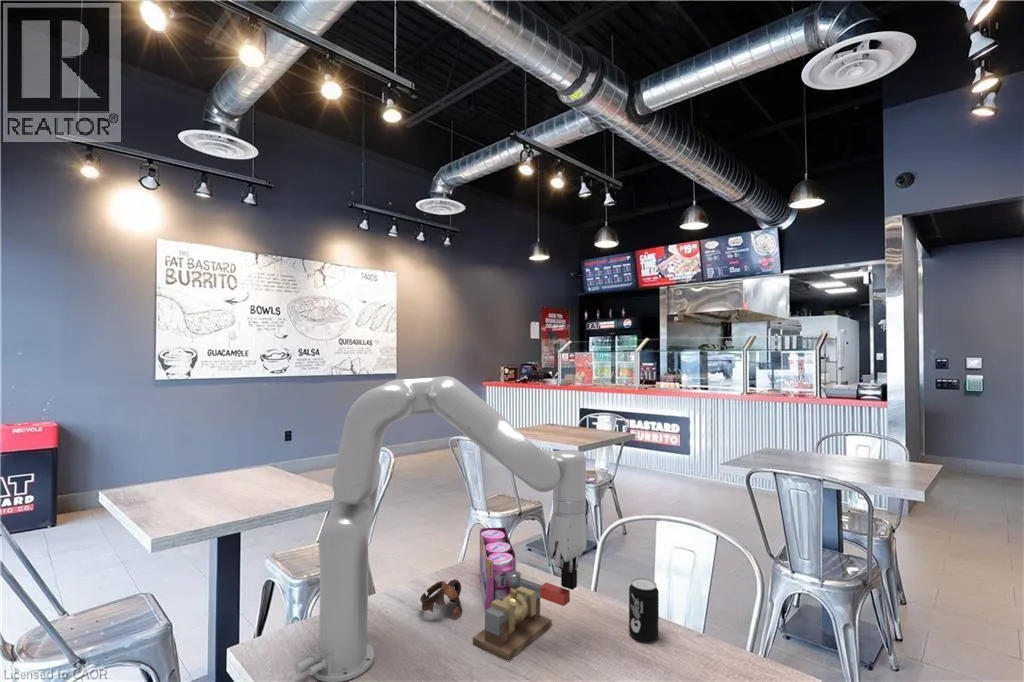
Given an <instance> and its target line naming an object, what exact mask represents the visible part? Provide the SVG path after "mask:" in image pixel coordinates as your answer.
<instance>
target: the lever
mask: <svg viewBox="0 0 1024 682" xmlns="http://www.w3.org/2000/svg"><path fill="white" fill-rule="evenodd" d="M521 576H522V574H521V572H520V571H517V570H516V571H511V572H509V573H508V587H509V588H513V589H515V588H519V587H520V586H521V587H524V588H527V589H530V590H532V591H535V592H538V593H540V599H542V600H546V601H548V602H551V603H554V604H557V605H559V606H562V607H565V606H566V605H567V604H569V603H570V599H571V598H570V597H571V596H570V594H571V593H570V592H571V591H570V590H571V589H568V588H565V587H562V586H557V585H554V584H553V583H552V584H551V583H549V582H545V583H544V584H539V583H537V582H534V581H531V580H528V579H526V578H523V577H521Z"/></svg>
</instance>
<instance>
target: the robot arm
mask: <svg viewBox="0 0 1024 682" xmlns="http://www.w3.org/2000/svg"><path fill="white" fill-rule="evenodd" d="M435 413H436V414H437V415H439V416H440V417H441V418H442V419H444V420H445V421H446V422H447V423H449V425H451V426H452V427H454V428H455V429H457V430H458V431H459V432H461V434H463V435H464V436H465V437H466V438H468V439H469V440H470V441H471V442H473V443H474V444H475V445H476V446H478V447H479V448H480V449H481V450H482V451H484V452H485V453H486V454H487V455H489V456H491V457H492V458H494V460H497V462H498V463H500V464H501V465H502V466H503V467H505V468H506V469H507V470H509V471H510V472H511V473H513V474H514V475H515V476H516V477H517V478H518V479H520V480H521V481H522V482H524V483H525V484H526V485H527V486H528V487H530V488H531V489H532V490H534V491H536V492H538V493H539V492H540V493H546V492H551V491H552V514H551V516H550V517H551V518H550V525H549V534H548V536H549V537H548V557H549V558H550V559H553V558H554V567H555V568H558V569H560V570H561V571H560V572H561V573H560V579H561V580H560V585H561V586H560V587H561V588H564V589H567V590H571V591H573V590H575V589H576V588H577V587H578V568H579V561H580V560H579V559H580V556H581V555H582V554H583V553H584V552H585V550H586V548H587V543H588V542H587V540H588V539H587V535H588V534H587V518H586V517H587V516H586V514H587V513H586V512H587V510H586V506H587V505H586V504H587V499H586V498H587V491H586V489H587V482H586V481H587V461H586V458H587V457H586V456H585V454H584V453H583V452H582V451H580V450H576V449H560V450H547V449H540V448H539V447H538V446H537V445H536V444H535V443H533V442H532V441H531V440H529V439H528V438H527V437H526V436H524V435H523V434H522V433H521V432H520V431H519V430H518V429H517V428H516V427H515V426H513V424H512V423H511V422H510V421H509V420H508V419H507V418H505V417H504V415H502V414H501V413H500V412H498V411H497V410H496V409H494V408H493V406H491V405H489V404H488V403H487V402H486V401H484V399H483V398H481V397H480V396H478V395H477V394H476V393H475V392H473V391H472V390H471V389H470V388H468V386H466V385H465V384H464V383H462V382H461V381H460V380H459V379H456V378H455V377H452V376H450V375H449V376H448V375H445V376H444V375H443V376H435V377H434V376H433V377H423V378H420V377H419V378H407V379H406V378H404V379H403V378H402V379H401V378H400V379H393V380H389V381H387V382H385V383H383V384H382V385H379V386H377V387H374V388H372V389H370V390H367V391H366V392H364V393H362V395H361V396H359V397H357V399H356V400H355V401H354V403H353V404H351V407H350V408H349V410H348V412H347V414H346V417H345V421H344V425H343V429H342V434H341V438H340V439H341V440H340V443H339V448H338V452H337V457H336V462H335V467H334V471H333V474H332V478H331V481H332V482H331V486H332V492H333V496H332V497H333V499H332V505H331V510H330V513H329V514H328V515H327V517H326V519H325V520H324V523H323V524H322V527H321V530H320V533H319V537H318V559H319V618H318V620H319V621H318V622H319V625H318V644H317V645H316V646H314V647H313V653H312V654H310V655H309V657H308V658H306V659H304V660H302V661H300V662H298V663H296V664H295V665H294V669H295V673H296V674H297V675H302V674H303V673H305V672H306V671H307V672H308V674H309V675H310V676H312V677H314V678H315V679H316V680H318V681H320V682H345V681H349V680H352V679H355V678H357V677H359V676H360V675H362V674H363V673H365V672H366V671H367V670H369V668H370V667H371V666H372V665H373V663H374V660H375V649H374V648H373V646H372V645H371V644H369V643H368V616H369V615H368V611H369V610H368V608H369V607H368V605H369V603H368V602H369V538H370V532H371V527H372V525H373V520H374V514H375V509H376V502H377V495H378V493H379V491H378V490H379V485H380V479H381V474H382V467H381V463H380V458H381V457H380V456H381V450H382V446H383V442H384V438H385V437H384V436H385V433H386V430H387V429H388V428H389V426H390V425H391V424H393V423H395V422H399V421H401V420H403V419H405V418H407V417H408V416H411V415H425V414H435Z"/></svg>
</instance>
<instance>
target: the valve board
mask: <svg viewBox="0 0 1024 682" xmlns="http://www.w3.org/2000/svg"><path fill="white" fill-rule="evenodd" d="M552 622H553V620H552V618H549V617H546V616H544V615H541V598H539V599H537V600H536V614H535V615H534V616H532V617H528V616H526V617H525V619H524V620H523V621H522V622H520V623H518V624H515V630H514V631H512V632H511V633H510V634H508V621H506V622H505V623H504V624H502V625H501V626H500V636H498V635H496V634H494V633H491V632H489V631H487V630H485V628H484V629H483V630H481V631H480V632H478V633H477V634H475V636H472V645H474V646H475V647H477V648H480V649H482V650H484V651H486V652H488V653H491V654H492V655H495V656H497V657H499V658H501V659H502V658H503V659H502V660H504V661H507V660H508V661H507V662H510V661H511V660H513V657H514V658H515V657H516V656H517V655H518V654H520V653H521V652H522V651H523V650H525V649H526V648H527V647H528V646H529V645H531V643H532V644H533V642H534V641H536V640H537V639H538V638H539V637H540V636H541V635H542V634H544V633H545V632H546V631H547V630H549V629H550V628H551V627H552V626H553V624H552ZM509 660H510V661H509Z"/></svg>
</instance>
